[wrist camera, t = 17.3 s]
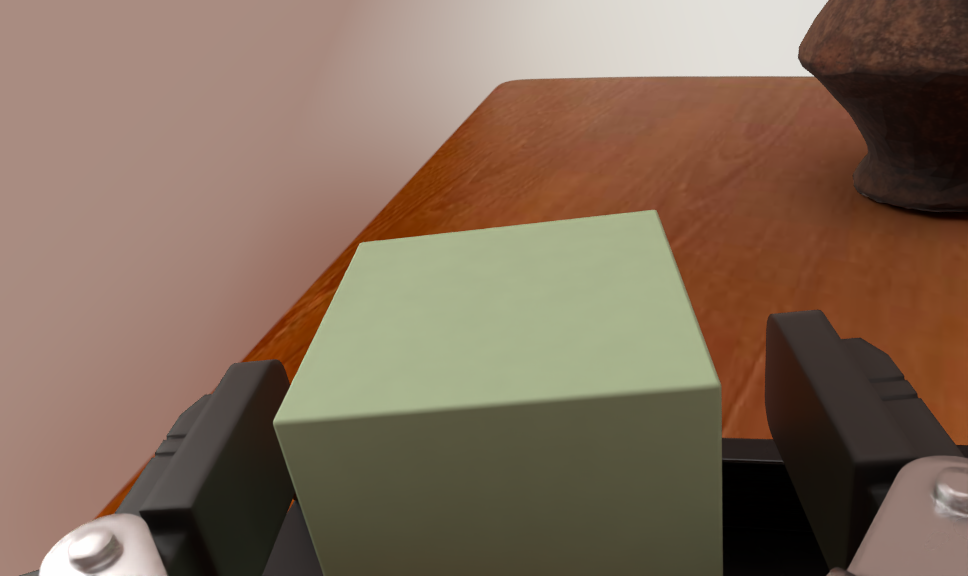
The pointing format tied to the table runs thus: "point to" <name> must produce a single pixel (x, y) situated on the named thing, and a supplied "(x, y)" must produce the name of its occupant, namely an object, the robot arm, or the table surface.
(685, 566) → the block
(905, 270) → the table surface
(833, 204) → the table surface
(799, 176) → the table surface
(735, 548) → the bench
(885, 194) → the jug
